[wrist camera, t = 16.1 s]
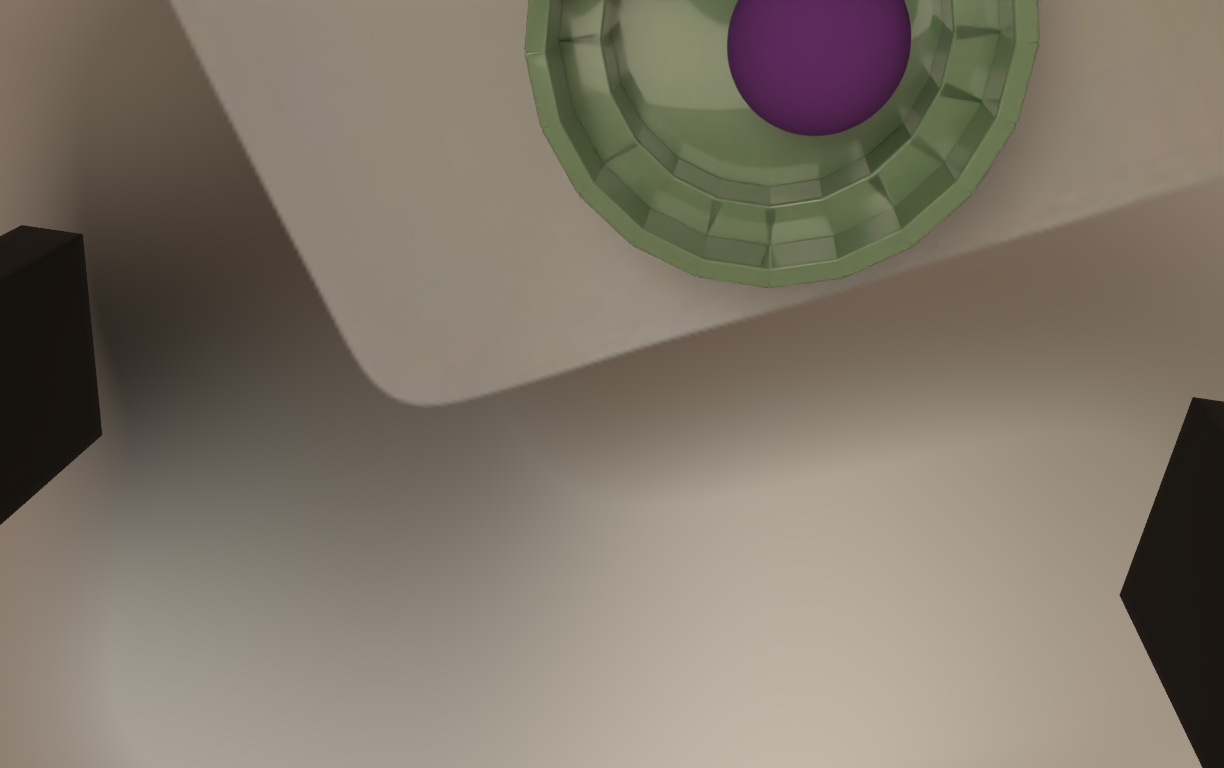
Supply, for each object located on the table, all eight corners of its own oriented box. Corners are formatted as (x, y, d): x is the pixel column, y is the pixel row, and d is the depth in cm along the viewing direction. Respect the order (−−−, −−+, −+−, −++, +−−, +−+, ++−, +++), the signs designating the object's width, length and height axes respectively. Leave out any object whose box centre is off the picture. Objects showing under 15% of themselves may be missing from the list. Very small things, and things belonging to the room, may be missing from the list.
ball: (686, 108, 34) (763, 155, 30) (712, -72, 32) (800, -49, 27) (831, 114, 36) (923, 159, 31) (865, -56, 33) (969, -32, 29)
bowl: (538, 201, 38) (506, 247, 33) (581, -254, 32) (551, -273, 27) (940, 262, 37) (963, 319, 32) (1058, -193, 31) (1106, -201, 27)
